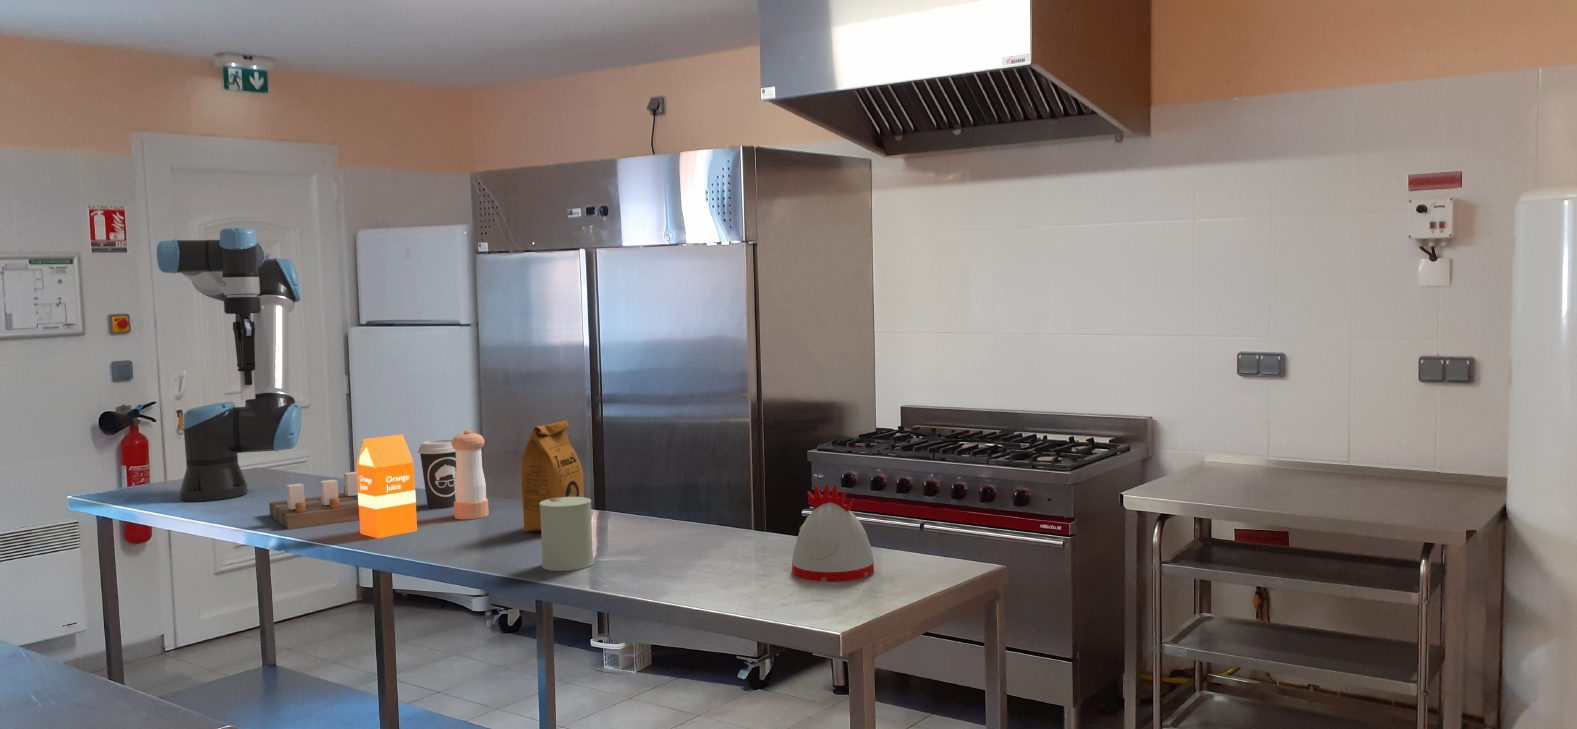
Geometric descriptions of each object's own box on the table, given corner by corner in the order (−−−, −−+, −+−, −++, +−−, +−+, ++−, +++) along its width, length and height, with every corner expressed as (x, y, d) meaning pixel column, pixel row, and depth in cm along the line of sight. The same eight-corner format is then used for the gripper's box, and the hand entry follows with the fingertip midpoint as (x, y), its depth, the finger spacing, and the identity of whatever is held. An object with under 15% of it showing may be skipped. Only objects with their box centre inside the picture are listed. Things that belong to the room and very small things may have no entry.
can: (571, 556, 208) (568, 492, 207) (604, 562, 202) (602, 496, 202) (531, 566, 201) (528, 500, 200) (564, 573, 195) (561, 505, 194)
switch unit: (270, 515, 256) (268, 493, 256) (360, 503, 268) (359, 482, 268) (288, 529, 240) (287, 506, 240) (384, 516, 252) (383, 494, 251)
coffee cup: (470, 501, 266) (466, 438, 265) (454, 509, 257) (450, 444, 256) (431, 502, 267) (427, 439, 266) (413, 510, 258) (410, 445, 257)
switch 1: (287, 507, 247) (286, 485, 246) (302, 505, 248) (301, 483, 248) (290, 509, 244) (289, 486, 244) (305, 507, 246) (304, 485, 246)
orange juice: (359, 533, 234) (354, 438, 233) (399, 525, 240) (394, 433, 239) (378, 538, 229) (372, 440, 227) (418, 530, 235) (412, 435, 234)
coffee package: (593, 524, 237) (589, 420, 235) (555, 536, 226) (550, 427, 224) (555, 520, 241) (551, 418, 240) (516, 532, 230) (511, 425, 229)
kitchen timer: (810, 559, 201) (808, 475, 200) (884, 564, 196) (882, 479, 195) (780, 578, 188) (777, 489, 187) (857, 584, 183) (855, 493, 182)
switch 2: (321, 503, 251) (320, 481, 251) (335, 501, 253) (334, 479, 252) (324, 505, 248) (323, 482, 248) (338, 503, 250) (337, 481, 250)
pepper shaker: (447, 518, 247) (443, 431, 245) (468, 512, 253) (464, 427, 252) (474, 520, 244) (470, 432, 243) (495, 513, 251) (491, 428, 249)
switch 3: (345, 494, 262) (343, 473, 261) (358, 492, 263) (357, 471, 263) (348, 496, 259) (347, 474, 259) (361, 494, 261) (360, 473, 260)
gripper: (219, 297, 260) (225, 398, 262) (228, 296, 249) (235, 402, 251) (254, 296, 264) (260, 396, 266) (265, 295, 254) (271, 399, 255)
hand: (248, 399), depth 258 cm, fingers closed
